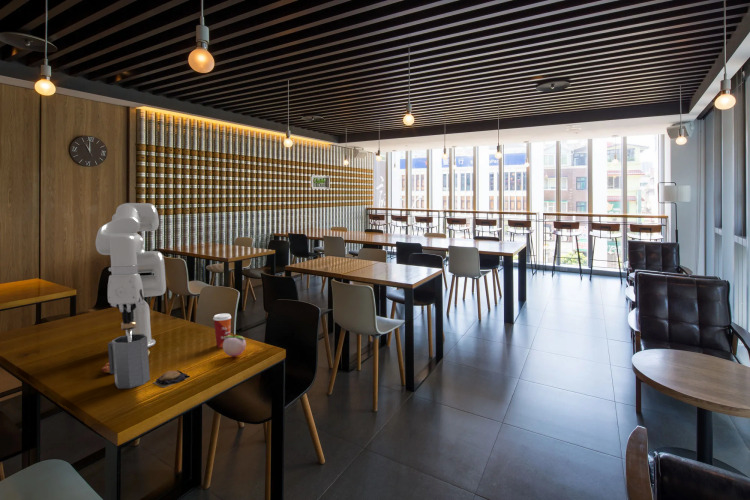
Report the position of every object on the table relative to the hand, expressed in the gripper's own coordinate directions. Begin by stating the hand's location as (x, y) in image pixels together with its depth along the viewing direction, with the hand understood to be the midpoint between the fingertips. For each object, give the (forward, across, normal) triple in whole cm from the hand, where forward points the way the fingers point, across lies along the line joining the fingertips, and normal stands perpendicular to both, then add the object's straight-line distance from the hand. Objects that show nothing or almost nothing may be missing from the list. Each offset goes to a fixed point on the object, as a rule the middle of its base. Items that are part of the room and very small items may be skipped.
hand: (128, 322), depth 136 cm
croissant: (+22, -12, +16) cm, 29 cm away
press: (+22, -1, 0) cm, 22 cm away
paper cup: (+22, +18, +37) cm, 47 cm away
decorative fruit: (+22, +28, +23) cm, 42 cm away
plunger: (+18, 0, 0) cm, 18 cm away
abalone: (+23, +13, +2) cm, 26 cm away
